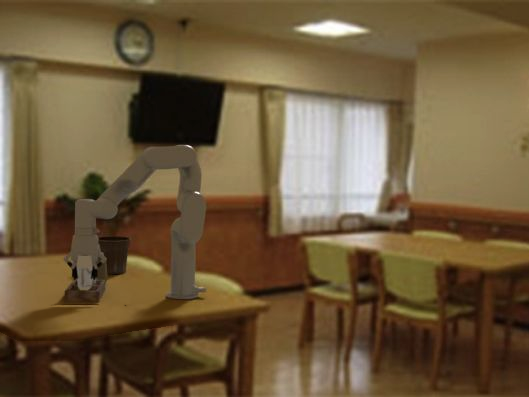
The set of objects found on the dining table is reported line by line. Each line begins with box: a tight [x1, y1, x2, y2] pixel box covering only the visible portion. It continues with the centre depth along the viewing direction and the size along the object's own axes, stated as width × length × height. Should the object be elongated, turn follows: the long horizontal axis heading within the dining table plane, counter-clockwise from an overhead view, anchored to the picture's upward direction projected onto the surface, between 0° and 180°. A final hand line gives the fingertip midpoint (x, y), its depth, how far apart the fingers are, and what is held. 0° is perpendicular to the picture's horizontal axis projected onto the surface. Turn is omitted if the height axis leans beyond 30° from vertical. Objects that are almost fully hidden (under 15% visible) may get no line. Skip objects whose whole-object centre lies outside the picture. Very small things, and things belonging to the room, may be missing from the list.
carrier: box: [64, 279, 107, 306], centre depth 267 cm, size 12×23×5 cm, turn 7°
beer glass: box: [76, 255, 94, 291], centre depth 261 cm, size 7×7×15 cm
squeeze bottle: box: [96, 244, 108, 282], centre depth 288 cm, size 8×8×18 cm
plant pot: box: [98, 235, 132, 276], centre depth 323 cm, size 16×16×16 cm
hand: (84, 278), depth 261 cm, fingers closed on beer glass, 6 cm apart
